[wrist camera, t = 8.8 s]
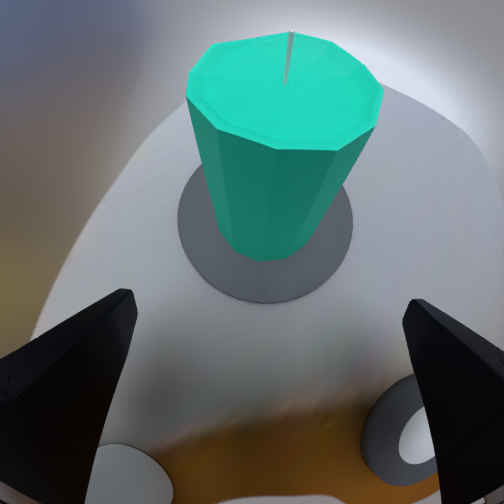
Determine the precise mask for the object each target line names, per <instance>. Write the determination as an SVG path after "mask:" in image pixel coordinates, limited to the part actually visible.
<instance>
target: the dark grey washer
mask: <svg viewBox="0 0 504 504" xmlns="http://www.w3.org/2000/svg"><path fill="white" fill-rule="evenodd" d="M360 444H361V453H362V457H363V459H364V461H365V463H366V465H367V466H368V467H369V468H370V469H371V470H372V471H373V472H374V473H375V474H376V475H377V476H378V477H379V478H380V479H381V480H383V481H384V482H386V483H388V484H390V485H395V486H406V485H411V484H415V483H417V482H420V481H422V480H424V479H426V478H428V477H429V476H431V475H433V474H434V473H435V472H437V464H436V458H435V453H434V448H433V443H432V438H431V433H430V429H429V425H428V420H427V416H426V412H425V408H424V405H423V401H422V397H421V393H420V390H419V386H418V383H417V380H416V376H415V374H413V375H410V376H407V377H405V378H403V379H401V380H400V381H398V382H397V383H395V384H394V385H393V386H391V387H390V388H389V389H388V390H387V391H386V392H385V393H384V394H383V395H382V396H381V397H380V398H379V399H378V401H377V402H376V403H375V405H374V406H373V408H372V409H371V411H370V413H369V415H368V417H367V419H366V421H365V424H364V427H363V430H362V435H361V442H360Z"/></svg>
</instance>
